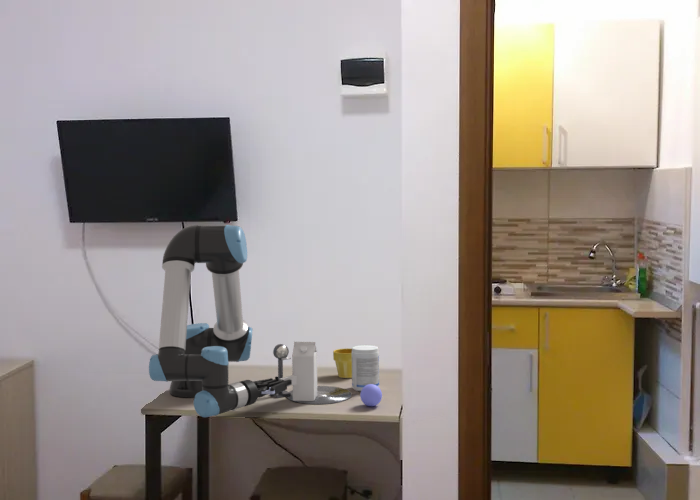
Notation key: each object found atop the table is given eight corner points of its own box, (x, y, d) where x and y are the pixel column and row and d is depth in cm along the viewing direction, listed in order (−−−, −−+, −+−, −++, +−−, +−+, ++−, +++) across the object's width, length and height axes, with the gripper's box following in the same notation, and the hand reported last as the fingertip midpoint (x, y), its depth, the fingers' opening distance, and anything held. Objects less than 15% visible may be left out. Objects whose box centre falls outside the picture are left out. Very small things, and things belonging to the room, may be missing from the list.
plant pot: (335, 372, 277) (335, 347, 277) (362, 373, 276) (361, 348, 276) (331, 379, 267) (331, 353, 266) (359, 380, 266) (359, 353, 265)
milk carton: (296, 395, 243) (296, 339, 242) (317, 395, 242) (317, 339, 241) (292, 401, 236) (292, 343, 235) (314, 401, 235) (313, 344, 234)
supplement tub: (384, 389, 253) (384, 347, 252) (364, 393, 247) (364, 351, 246) (366, 384, 260) (366, 343, 259) (346, 388, 254) (346, 347, 253)
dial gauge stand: (278, 398, 241) (277, 346, 240) (270, 394, 246) (270, 343, 245) (291, 396, 244) (291, 344, 243) (284, 392, 249) (283, 342, 247)
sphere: (376, 410, 227) (376, 388, 227) (356, 407, 230) (356, 385, 230) (385, 404, 234) (385, 383, 233) (365, 401, 237) (365, 380, 236)
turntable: (305, 407, 230) (305, 406, 230) (275, 392, 248) (275, 391, 248) (363, 398, 241) (363, 396, 241) (331, 384, 260) (331, 383, 260)
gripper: (226, 403, 220) (280, 387, 239) (256, 410, 212) (310, 394, 231) (225, 378, 220) (280, 365, 238) (255, 385, 212) (309, 370, 230)
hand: (294, 379), depth 234 cm, fingers closed
